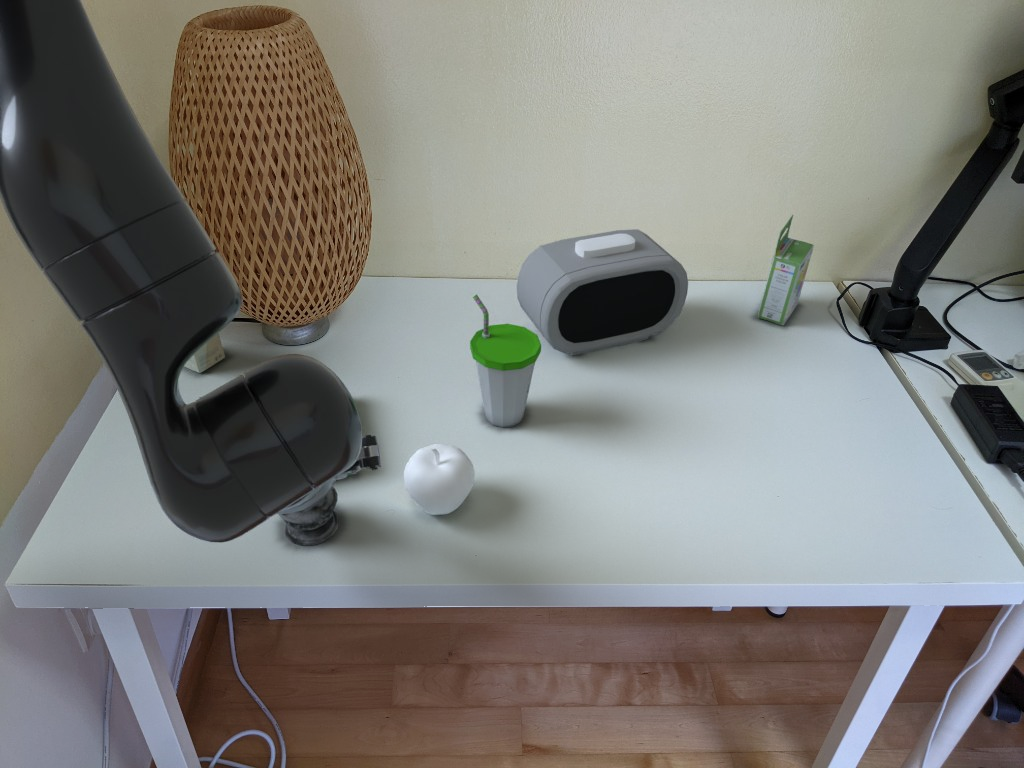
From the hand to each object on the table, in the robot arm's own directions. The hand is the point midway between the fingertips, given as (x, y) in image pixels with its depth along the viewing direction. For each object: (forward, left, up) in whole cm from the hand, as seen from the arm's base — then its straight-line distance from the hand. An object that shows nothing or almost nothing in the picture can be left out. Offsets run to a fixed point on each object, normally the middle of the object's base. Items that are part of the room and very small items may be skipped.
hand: (300, 469), depth 71 cm
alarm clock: (+40, +27, -9) cm, 49 cm away
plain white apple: (+13, +1, -9) cm, 16 cm away
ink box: (+67, +26, -9) cm, 72 cm away
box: (-12, +33, -9) cm, 36 cm away
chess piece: (0, +1, -9) cm, 9 cm away
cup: (+23, +13, -9) cm, 28 cm away
